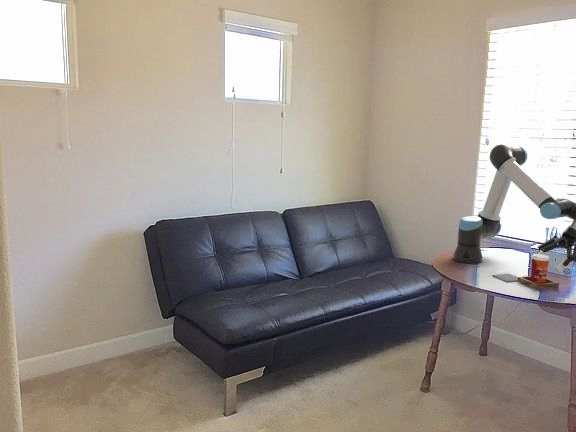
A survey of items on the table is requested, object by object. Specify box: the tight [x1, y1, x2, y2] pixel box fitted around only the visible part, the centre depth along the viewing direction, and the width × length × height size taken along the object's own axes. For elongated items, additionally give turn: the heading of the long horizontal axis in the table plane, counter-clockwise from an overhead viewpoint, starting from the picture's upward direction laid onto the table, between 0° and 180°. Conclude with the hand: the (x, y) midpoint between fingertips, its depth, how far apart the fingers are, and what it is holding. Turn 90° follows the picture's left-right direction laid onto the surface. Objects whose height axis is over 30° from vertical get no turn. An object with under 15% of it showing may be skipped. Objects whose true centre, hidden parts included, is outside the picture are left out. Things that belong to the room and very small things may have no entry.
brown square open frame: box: [516, 275, 560, 291], centre depth 226 cm, size 12×12×2 cm
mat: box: [491, 273, 519, 283], centre depth 235 cm, size 10×10×1 cm
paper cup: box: [530, 253, 550, 284], centre depth 225 cm, size 8×8×14 cm
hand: (545, 266), depth 224 cm, fingers open, 13 cm apart
